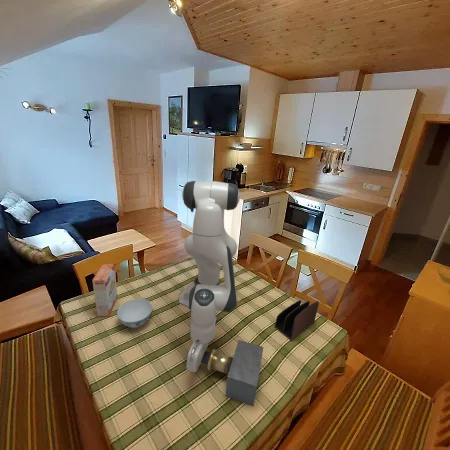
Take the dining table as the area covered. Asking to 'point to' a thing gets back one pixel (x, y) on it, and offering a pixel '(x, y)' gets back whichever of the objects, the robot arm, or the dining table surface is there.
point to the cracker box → (105, 290)
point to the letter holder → (296, 318)
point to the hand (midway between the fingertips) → (201, 357)
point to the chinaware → (134, 312)
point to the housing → (244, 372)
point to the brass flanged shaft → (217, 361)
